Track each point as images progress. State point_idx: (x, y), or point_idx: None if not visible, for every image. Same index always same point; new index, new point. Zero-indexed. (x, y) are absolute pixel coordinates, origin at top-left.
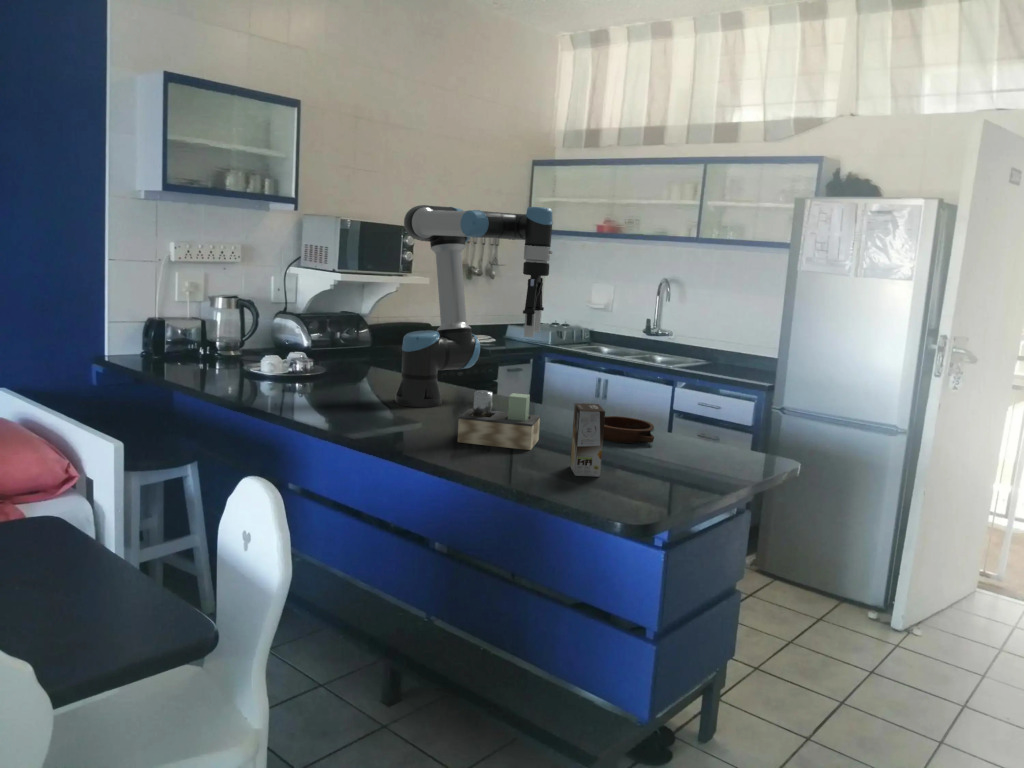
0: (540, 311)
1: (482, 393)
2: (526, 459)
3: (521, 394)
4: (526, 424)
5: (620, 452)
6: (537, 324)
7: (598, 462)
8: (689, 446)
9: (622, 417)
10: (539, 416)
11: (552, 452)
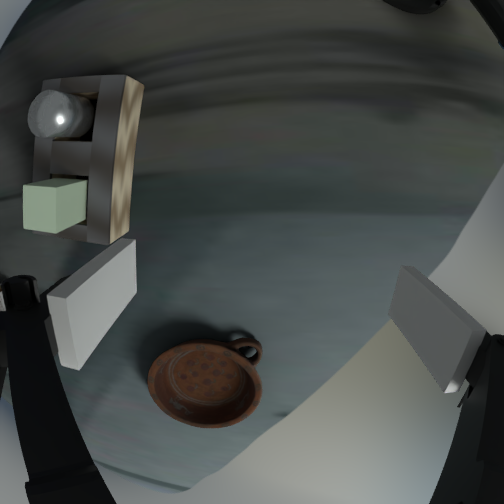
0: (443, 389)
1: (28, 117)
2: (16, 219)
3: (50, 212)
4: None
5: (110, 359)
6: (410, 323)
7: None
8: (194, 442)
9: (255, 395)
10: (100, 243)
11: (61, 258)
